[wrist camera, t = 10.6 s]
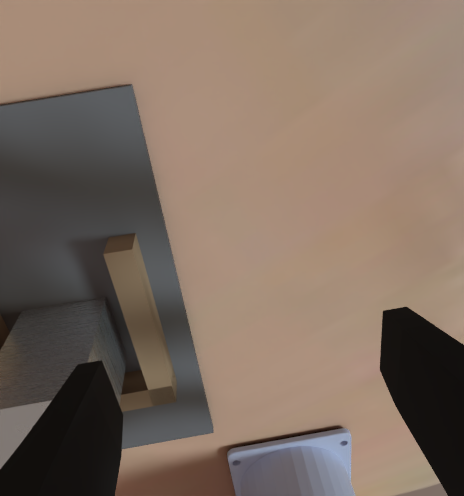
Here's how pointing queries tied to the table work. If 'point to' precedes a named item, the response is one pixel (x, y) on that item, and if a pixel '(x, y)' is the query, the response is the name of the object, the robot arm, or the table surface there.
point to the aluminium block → (52, 361)
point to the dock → (99, 247)
